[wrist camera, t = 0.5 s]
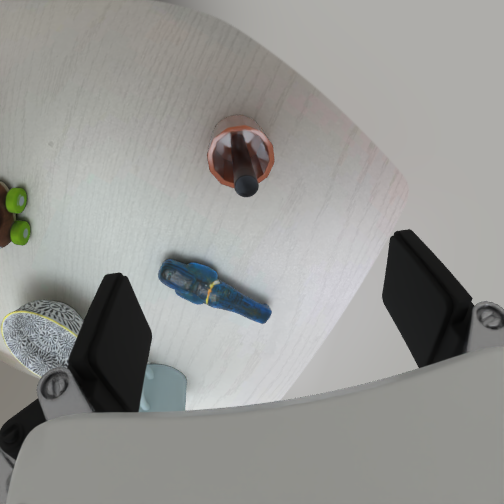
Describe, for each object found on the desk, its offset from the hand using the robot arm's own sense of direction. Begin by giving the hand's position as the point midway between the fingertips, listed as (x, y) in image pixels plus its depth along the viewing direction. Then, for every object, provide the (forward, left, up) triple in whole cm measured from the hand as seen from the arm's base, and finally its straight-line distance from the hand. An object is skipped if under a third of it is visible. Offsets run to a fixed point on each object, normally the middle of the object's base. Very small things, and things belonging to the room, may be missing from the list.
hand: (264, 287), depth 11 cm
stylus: (0, 0, -22) cm, 22 cm away
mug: (+34, -19, -23) cm, 45 cm away
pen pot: (0, 0, -23) cm, 23 cm away
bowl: (+20, -30, -23) cm, 43 cm away
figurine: (+17, -5, -23) cm, 29 cm away
